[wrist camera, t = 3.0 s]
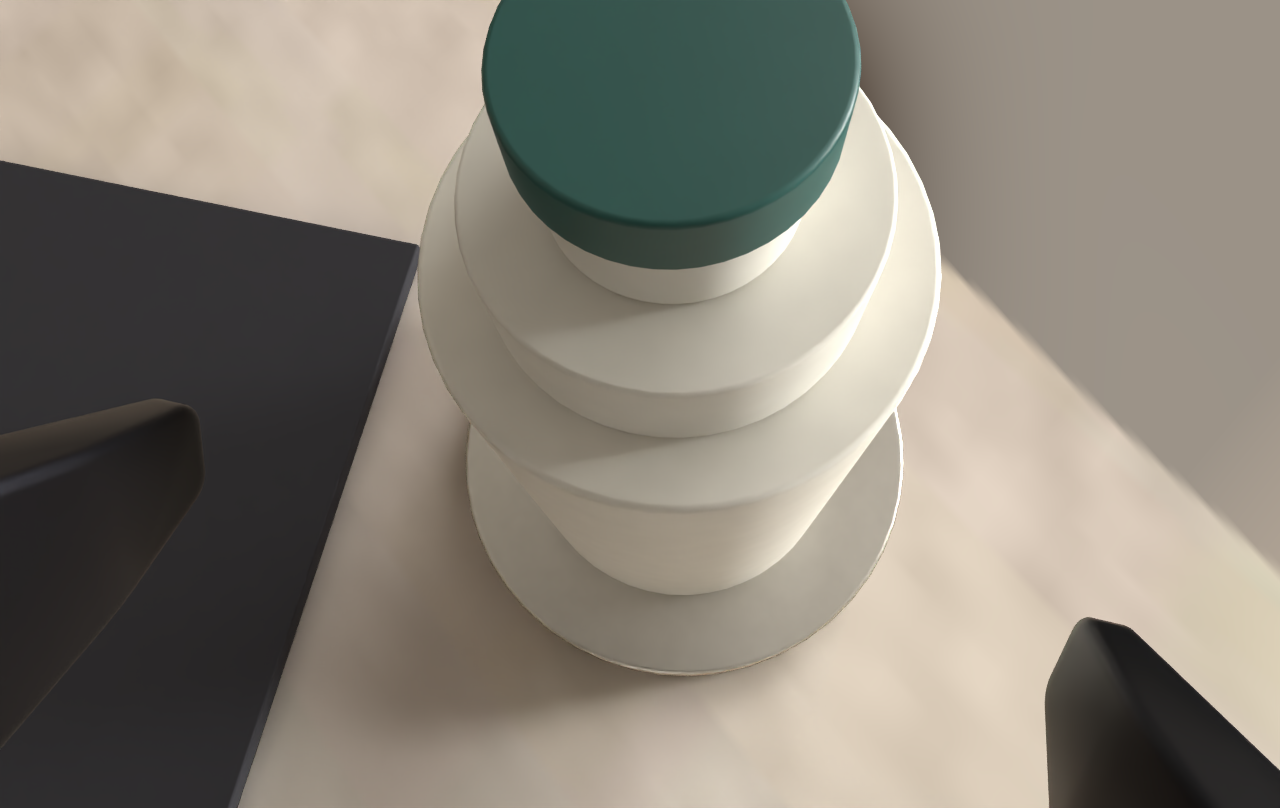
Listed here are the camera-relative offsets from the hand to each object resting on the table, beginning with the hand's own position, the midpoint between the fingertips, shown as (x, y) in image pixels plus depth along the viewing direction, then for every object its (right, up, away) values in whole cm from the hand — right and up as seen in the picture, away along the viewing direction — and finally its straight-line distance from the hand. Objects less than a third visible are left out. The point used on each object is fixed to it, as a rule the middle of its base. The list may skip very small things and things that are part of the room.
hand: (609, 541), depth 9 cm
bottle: (+1, 0, +10) cm, 10 cm away
